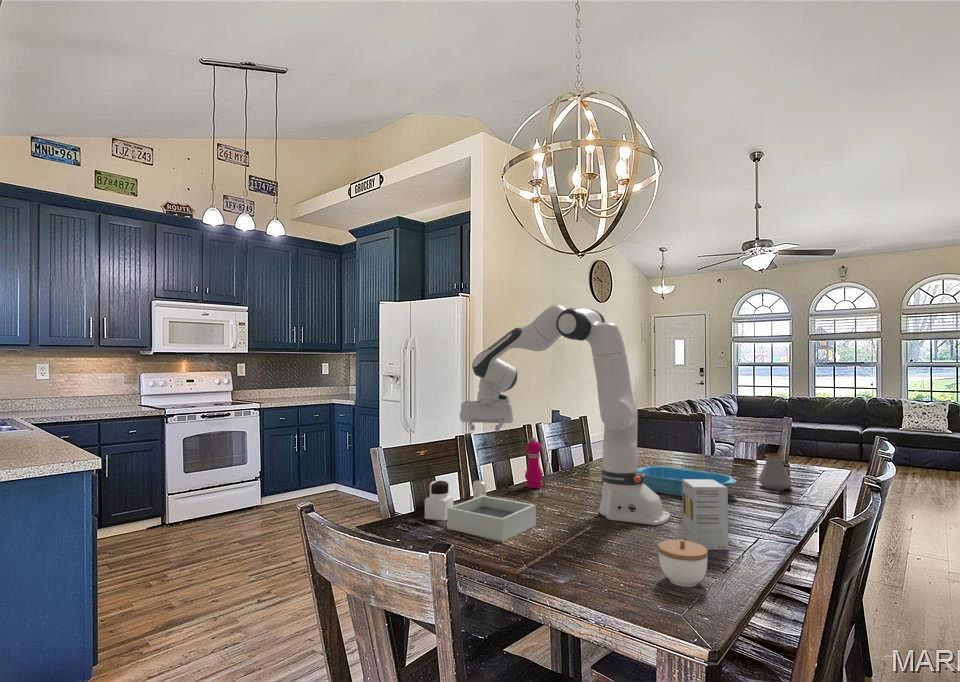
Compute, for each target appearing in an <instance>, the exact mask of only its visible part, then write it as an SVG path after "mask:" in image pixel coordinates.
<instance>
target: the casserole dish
mask: <svg viewBox="0 0 960 682" xmlns="http://www.w3.org/2000/svg"><path fill="white" fill-rule="evenodd" d="M637 470H638V471H639V472H640V473H641V474H645V475H644V476H645V477H643V483H644V484H645V485H646V486H647V487H649V488H650V489H651V490H652V491H653V492H654V493H656V494H657V493H658V494H659V493H660V494H662V495H663V494H664V495H665V494H666V495H669V496H670V495H671V496H677V497H681V498H683V491H682V480H683V479H711V480H715V481H717V482H718V483H720V484H722V485H724V486H726V487H727V488H728V491H729V489H730V487H731V485H735V484H736V483H737V480H736V479H735V478H733V476H731V475H727V474H722V473H716V472H710V471H701V470H693V469H687V468H686V469H685V468H680V467H679V468H678V467H671V466H664V465H663V466H662V465H654V466H642V467H637Z"/></svg>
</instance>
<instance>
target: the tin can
mask: <svg viewBox="0 0 960 682" xmlns="http://www.w3.org/2000/svg"><path fill="white" fill-rule="evenodd" d="M472 485H473V486H472V488H473V490H472V495H473V498H472V499H474V498H477V497H480V496H482V495H483V496H487V481H485V480H474V481H473V482H472Z"/></svg>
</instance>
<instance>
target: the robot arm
mask: <svg viewBox="0 0 960 682" xmlns="http://www.w3.org/2000/svg"><path fill="white" fill-rule="evenodd" d="M560 337H564V338H566V339H569V340H571V341H572V340H573V341H574V340H575V341H581V342H582V341H586V342H588V343H589V346H590V350H591V355H592V360H593V367H594V372H595V378H596V388H597V398H598V399H597V400H598V406H599V407H598V408H599V415H600V419H601V422H602V423H603V424H604V426H603V441H602V442H603V443H602V466H603V467H602V470H601V485H602V491H601V500H600V505H599V509H598V513H600V514H601V515H602V516H604V517H605V518H606V519H607V520H610V521H618V522H619V521H620V522H627V523H635V524H643V525H653V526H656V525H657V526H658V525H662V524H666V523H667V522H668V521H669V520H670V519H671V513H670V512H668V511H666V510H663V503H662V498H661V497H660V496H659V495H658V494H657V492H653V491H652V490H651V489H650V488H649V487H647V486H646V485H645V484H644V483H643V477H645V476H644V475H645V474H641V473H640V472H639V471H638V470H637V469H638V423H639V422H638V421H639V420H638V416H639V415H638V410H639V409H638V406H637V403H636V402H635V400H634V396H633V390H632V381H631V373H630V368H629V361H628V357H627V350H626V346H625V342H624V340H623V336H622V333H621V330H620V328H619V326H618V325H617V324H616V323H613V322H611V321H610V322H608V321H606V320H605V317H604V315H603V314H602V313H601V312H599V311H597V310H595V309H590V308H589V309H588V308H584V307H570V308H565V307H564V306H563V305H560V304H552V305H551V306H548V307H547V308H546V309H545V310H543V311H542V312H541V313H540V314H539V315H538V316H537V317H536V318H535V319H534V320H533V321H532V322H531V323H529V324H527V325H525V326H521V327H515V328H513V329H511V330H510V331H509V332H507V333H506V334H505V335H503V336H502V337H501V338H499V340H497V341H496V342H494V343H493V344H492V345H490V346H489V347H488V348H487V349H485V350H483V351H481V352H480V353H478V354H477V355H476V356H475V358H474V359H473V361H472V364H471V368H472V370H473V373H474V375H475V376H477V377H479V378H480V379H479V385H478V389H479V390H478V392H477V397H476V398H477V399H476V400H471V401H469V400H466V401H464V402H462V403H461V404H460V412H459V419H460V422H461V423H468V425H469V430H470V432H474V431H475V430H476V426H475V423H478V424H481V423H482V424H483V423H484V424H488V423H489V424H497V425H495V429H494V430H495V432H501V431H500V430H501V428H502V427H503V425H504V424H512V423H513V422H514V416H513V415H514V414H513V413H514V411H513V405H512V403H511V398H510V396H509V395H505V394H502V393H505V392H507V391H509V390H510V389H513V388H514V386H515V385H516V384H517V381H518V370H517V368H516V367H514V366H513V365H511V364H510V363H507V362H506V361H504V360H502V359H500V357H502V355H504V354H505V353H506V352H508V351H509V350H511V349H524V350H529V351H533V352H543V351H547V350H548V349H549V348H551V347H552V346H553V344H555V343H556V341H558V340H559V338H560ZM473 423H474V424H473Z"/></svg>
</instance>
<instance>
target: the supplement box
mask: <svg viewBox="0 0 960 682" xmlns="http://www.w3.org/2000/svg"><path fill="white" fill-rule="evenodd" d="M682 491H683V497H682V539H683V540H685V541H690V542H694V543H697V544H700V545H702V546H704V547H705V548H706V549H707V550H708V551H711V550H712V551H713V550H714V551H715V550H717V551H728V550H729V518H728V517H729V514H728V513H729V512H728V511H729V510H728V509H729V506H728V505H729V504H728V500H729V499H728V497H729V494H728V492H729V490H728V488H727V487H726V486H724V485H722V484H720V483H718V482H717V481H715V480H711V479H683V480H682Z"/></svg>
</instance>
